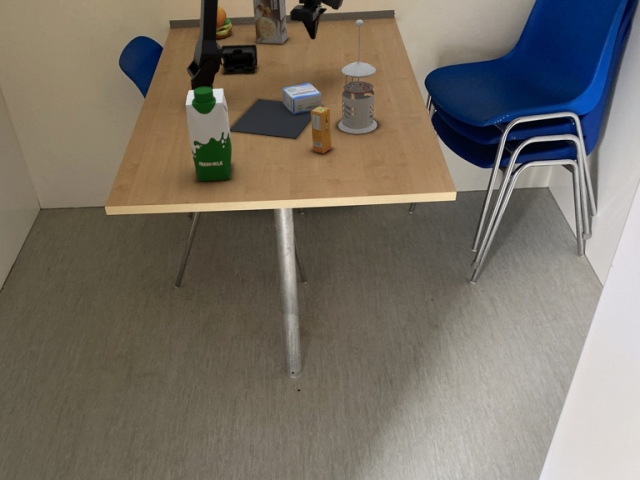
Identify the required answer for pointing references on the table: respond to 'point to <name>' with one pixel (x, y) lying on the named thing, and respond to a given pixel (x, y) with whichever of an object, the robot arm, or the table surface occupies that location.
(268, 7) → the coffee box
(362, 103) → the french press
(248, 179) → the table surface
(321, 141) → the supplement box
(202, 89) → the milk carton
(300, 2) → the robot arm
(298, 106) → the medicine box
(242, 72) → the end cap
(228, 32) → the cheeseburger
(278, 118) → the mat
